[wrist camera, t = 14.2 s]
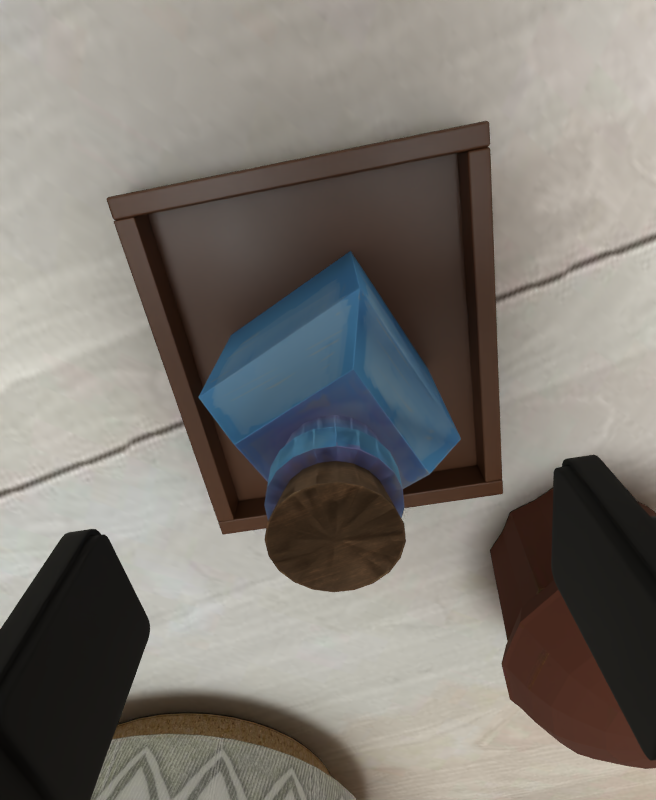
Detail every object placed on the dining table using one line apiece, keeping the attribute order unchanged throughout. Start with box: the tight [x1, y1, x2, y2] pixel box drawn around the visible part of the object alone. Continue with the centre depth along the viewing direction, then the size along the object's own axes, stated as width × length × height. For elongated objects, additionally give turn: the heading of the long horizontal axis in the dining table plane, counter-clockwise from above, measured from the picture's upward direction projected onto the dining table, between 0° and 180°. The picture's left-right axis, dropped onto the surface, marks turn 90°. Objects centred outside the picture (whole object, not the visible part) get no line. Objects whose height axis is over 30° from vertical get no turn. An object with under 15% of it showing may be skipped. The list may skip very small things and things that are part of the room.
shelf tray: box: [107, 121, 503, 534], centre depth 22 cm, size 16×14×2 cm
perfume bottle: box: [198, 251, 461, 592], centre depth 17 cm, size 6×6×12 cm
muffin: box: [490, 488, 656, 769], centre depth 24 cm, size 12×11×10 cm
